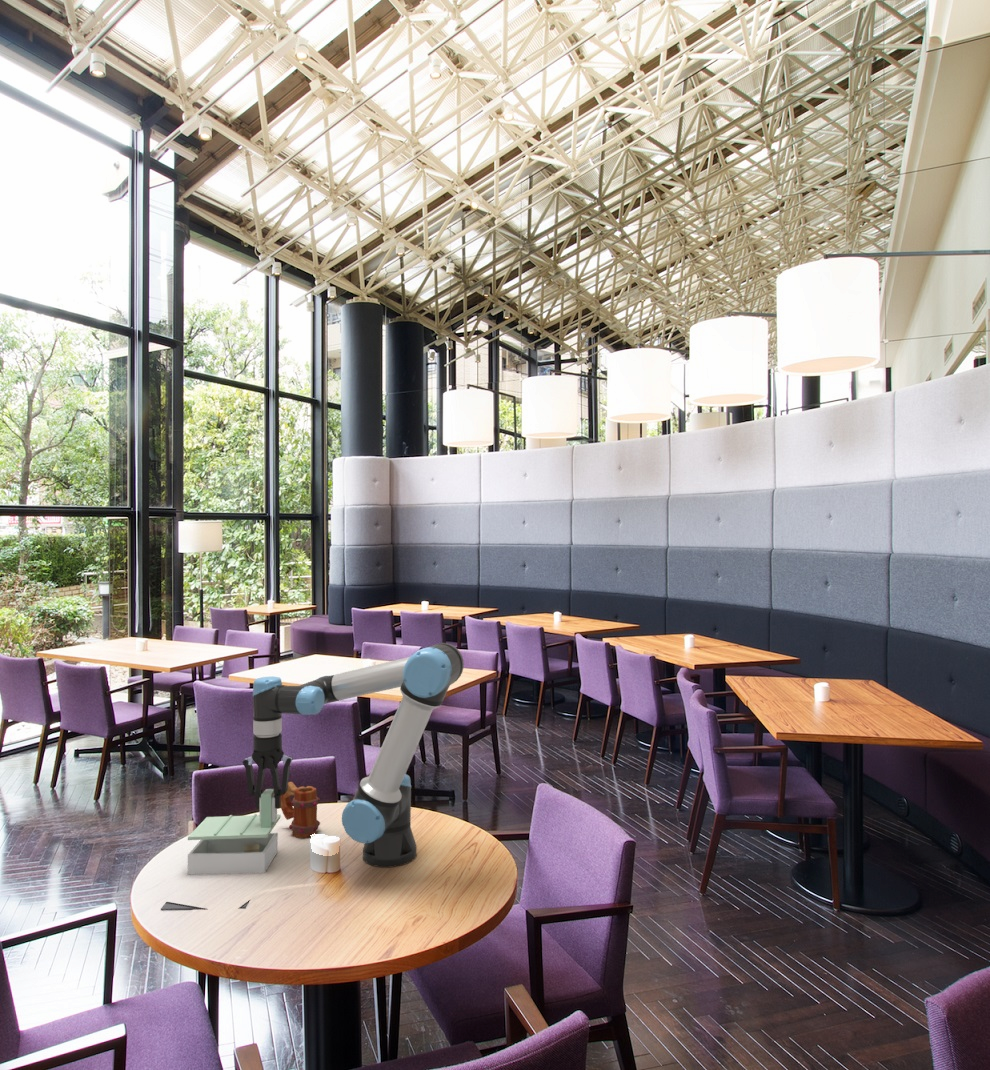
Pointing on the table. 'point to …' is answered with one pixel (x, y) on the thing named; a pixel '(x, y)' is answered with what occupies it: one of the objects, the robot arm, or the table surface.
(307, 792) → the mug
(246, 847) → the part
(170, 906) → the mat
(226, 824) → the lid
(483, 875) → the table surface
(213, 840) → the tub
